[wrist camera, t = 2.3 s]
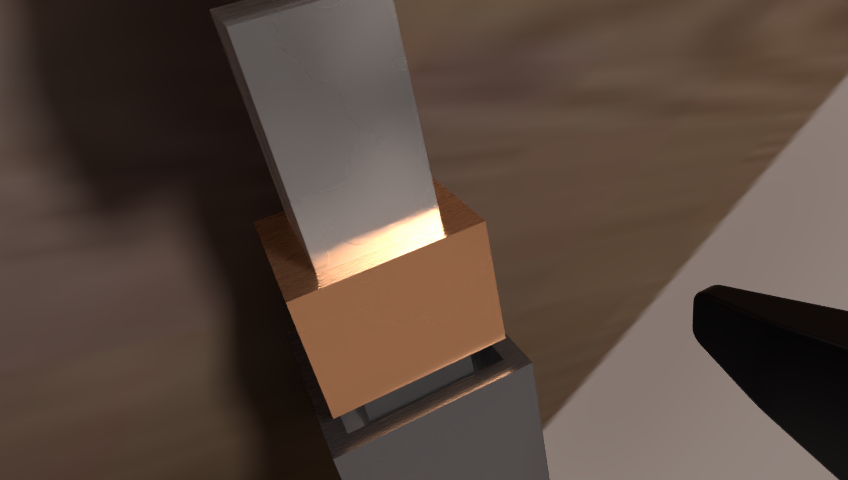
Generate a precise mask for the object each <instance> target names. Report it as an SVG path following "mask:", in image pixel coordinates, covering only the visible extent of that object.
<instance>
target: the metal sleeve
mask: <svg viewBox="0 0 848 480" xmlns="http://www.w3.org/2000/svg"><path fill="white" fill-rule="evenodd" d="M286 334H287V337H288V340H289V342H290V345H291V348H292V350H293V353H294V356H295V359H296V361H297V364H298V367H299V369H300V372H301V375H302V377H303V380H304V383H305V385H306V388H307V391H308V394H309V396H310V399H311V402H312V404H313V407H314V410H315V412H316V415H317V418H318V420H319V423H320V426H321V428H322V431H323V434H324V437H325V439H326V442H327V445H328V447H329V450H330V453H331V455H332V458H333V461H334V463H335V465H336V468H337V470H338V472H339V474H340V477H341V479H342V480H550V479H549V473H548V467H547V459H546V452H545V445H544V439H543V432H542V425H541V418H540V411H539V405H538V398H537V391H536V384H535V377H534V371H533V364H532V362H531V361H530V360H529V359H528V357H527V356H526V355H525V354H524V353H523V352H522V351H521V350H520V349H519V348H518V347H517V346H516V344H515V343H514V342H513V341H512V340H511V339H510V338H509V337H508V336H507V335H506V334H505V337H506V338H505V339H503V340H501V341H499V342H497V343H495V344H492V345H490V346H488V347H486V348H484V349H482V350H480V351H477V352H475V353H473V354H471V360H472V364H473V369H474V374H472V375H470V376H468V377H466V378H464V379H462V380H459V381H457V382H455V383H453V384H451V385H449V386H447V387H445V388H443V389H441V390H439V391H436V392H434V393H432V394H430V395H428V396H426V397H424V398H422V399H420V400H418V401H416V402H413V403H411V404H409V405H407V406H405V407H403V408H401V409H399V410H397V411H395V412H393V413H390V414H388V415H386V416H384V417H382V418H380V419H378V420H376V421H374V422H372V423H370V424H367V425H364V423H363V420H362V417H361V415H360V412H359V409H358V408H356V409H354V410H352V411H350V412H347V413H345V414H343V415H341V416H339V417H337V418H335V419H333V417H332V414H331V412H330V409H329V407H328V404H327V402H326V400H325V397H324V395H323V392H322V390H321V387H320V385H319V382H318V380H317V378H316V375H315V373H314V370H313V368H312V365H311V363H310V361H309V358H308V356H307V353H306V351H305V348H304V346H303V343H302V341H301V339H300V336H299V334H298V331H297V329H294V330H292V331H290V332H287V333H286Z"/></svg>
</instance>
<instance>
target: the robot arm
mask: <svg viewBox="0 0 848 480" xmlns="http://www.w3.org/2000/svg"><path fill="white" fill-rule="evenodd" d="M693 303H694V304H693V333H694V335H695V338H696V339H697V341H698V342H699V343H700V344H701V346H702V347H703V348H704V349H705V350H706V351H707V352H708V353H709V354H710V355H711V356H712V358H713V359H714V360H715V361H716V362H717V363H718V364H719V365H720V366H721V367H722V368H723V369H724V371H725V372H726V373H727V374H728V375H729V376H730V377H731V378H732V379H733V380H734V381H735V382H736V384H737V385H738V386H739V387H740V388H741V389H742V390H743V391H744V392H745V393H746V394H747V396H748V397H749V398H750V399H751V400H752V401H753V402H754V403H755V404H756V405H757V406H758V407H759V408H760V409H761V410H762V411H763V412H764V413H766V414H767V415H768V416H769V417H770V418H771V419H772V420H773V421H774V422H775V423H776V424H777V425H779V426H780V427H781V428H782V429H783V430H784V431H785V432H786V433H787V434H789V435H790V436H791V437H792V438H793V439H794V440H795V441H796V442H797V443H799V444H800V445H801V446H802V447H803V448H804V449H805V450H806V451H807V452H809V453H810V454H811V455H812V456H813V457H814V458H815V459H816V460H817V461H819V462H820V463H821V464H822V465H823V466H824V467H825V468H826V469H827V470H829V471H830V472H831V473H832V474H833V475H834V476H835V477H836V478H838V479H839V480H848V311H845V310H840V309H835V308H830V307H825V306H820V305H816V304H811V303H806V302H801V301H796V300H791V299H786V298H781V297H776V296H772V295H767V294H762V293H756V292H751V291H747V290H742V289H737V288H732V287H727V286H722V285H714V286H711V287H709V288H707V289H705V290H703V291H701V292H698V293H697V294H696V296H695V297H694V302H693Z"/></svg>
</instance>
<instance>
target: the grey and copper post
mask: <svg viewBox="0 0 848 480" xmlns="http://www.w3.org/2000/svg"><path fill="white" fill-rule="evenodd" d="M209 10H210V13H211V15H212V18H213V21H214V24H215V26H216V29H217V32H218V34H219V37H220V40H221V42H222V45H223V48H224V50H225V53H226V56H227V58H228V61H229V64H230V66H231V69H232V72H233V74H234V77H235V80H236V82H237V85H238V88H239V90H240V93H241V96H242V99H243V101H244V104H245V107H246V109H247V112H248V115H249V117H250V120H251V123H252V125H253V128H254V131H255V133H256V136H257V139H258V141H259V144H260V147H261V149H262V152H263V155H264V157H265V160H266V163H267V165H268V168H269V171H270V173H271V176H272V179H273V182H274V184H275V187H276V190H277V192H278V195H279V198H280V200H281V203H282V206H283V208H284V211H283V212H280V213H278V214H275V215H272V216H269V217H267V218H264V219H261V220H259V221H256V222H254V225H255V227H256V230H257V232H258V235H259V237H260V240H261V242H262V245H263V247H264V250H265V252H266V255H267V257H268V260H269V262H270V265H271V267H272V270H273V272H274V275H275V277H276V280H277V282H278V285H279V287H280V289H281V292H282V294H283V297H284V299H285V302H286V304H287V307H288V309H289V312H290V314H291V317H292V319H293V321H294V324H295V326H296V329H297V331H298V334H299V336H300V339H301V341H302V343H303V346H304V348H305V351H306V353H307V356H308V358H309V361H310V363H311V365H312V368H313V370H314V373H315V375H316V378H317V380H318V382H319V385H320V387H321V390H322V392H323V395H324V397H325V400H326V402H327V404H328V407H329V409H330V412H331V414H332V417H333V419H335V418H337V417H339V416H341V415H343V414H345V413H347V412H350V411H352V410H354V409H356V408H358V409H359V412H360V415H361V417H362V420H363V423H364V425H367V424H370V423H372V422H374V421H376V420H378V419H380V418H382V417H384V416H386V415H388V414H390V413H393V412H395V411H397V410H399V409H401V408H403V407H405V406H407V405H409V404H411V403H413V402H416V401H418V400H420V399H422V398H424V397H426V396H428V395H430V394H432V393H434V392H436V391H439V390H441V389H443V388H445V387H447V386H449V385H451V384H453V383H455V382H457V381H459V380H462V379H464V378H466V377H468V376H470V375H472V374H474V369H473V364H472V360H471V354H473V353H475V352H477V351H480V350H482V349H484V348H486V347H488V346H490V345H492V344H495V343H497V342H499V341H501V340H503V339H505V338H506V337H505V331H504V326H503V320H502V314H501V308H500V303H499V297H498V291H497V285H496V280H495V274H494V268H493V262H492V257H491V251H490V245H489V239H488V233H487V228H486V222H485V220H483V219H482V218H481V217H480V216H479V215H477V214H476V213H475V212H474V211H473V210H471V209H470V208H469V207H468V206H466V205H465V204H464V203H463V202H462V201H460V200H459V199H458V198H457V197H455V196H454V195H453V194H452V193H451V192H449V191H448V190H447V189H446V188H444V187H443V186H442V185H441V184H440V183H438V182H437V181H436V180H435V179H434V178H432V176H431V172H430V167H429V163H428V158H427V153H426V149H425V144H424V140H423V135H422V130H421V126H420V121H419V117H418V112H417V108H416V103H415V98H414V94H413V89H412V85H411V80H410V75H409V71H408V66H407V62H406V57H405V53H404V48H403V43H402V39H401V34H400V30H399V25H398V20H397V16H396V11H395V7H394V2H393V0H242V1H238V2H234V3H231V4H227V5H224V6H220V7H216V8H213V9H209Z"/></svg>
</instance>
